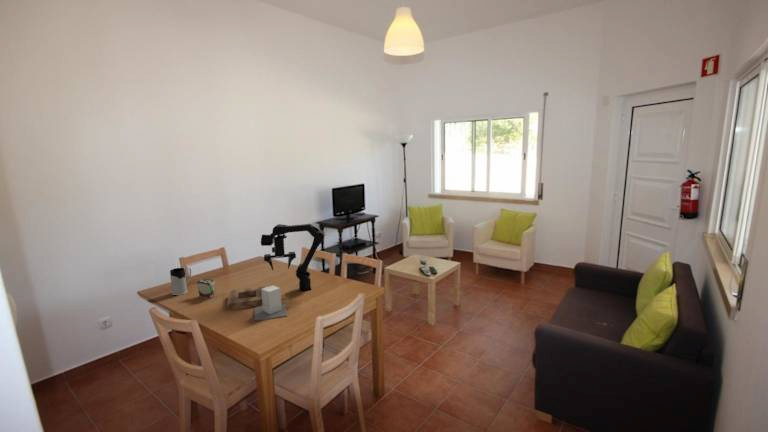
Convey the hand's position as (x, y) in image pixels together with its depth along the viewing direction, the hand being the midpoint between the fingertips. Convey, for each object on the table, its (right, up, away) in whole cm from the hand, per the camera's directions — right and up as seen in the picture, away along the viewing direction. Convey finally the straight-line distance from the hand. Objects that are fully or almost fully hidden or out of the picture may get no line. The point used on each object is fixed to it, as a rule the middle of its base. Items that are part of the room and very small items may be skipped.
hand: (280, 269), depth 222 cm
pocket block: (-16, -16, -13) cm, 26 cm away
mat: (+3, -19, -29) cm, 35 cm away
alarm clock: (-41, -15, -6) cm, 44 cm away
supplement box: (+4, -18, -28) cm, 33 cm away
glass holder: (-61, -14, 0) cm, 62 cm away
